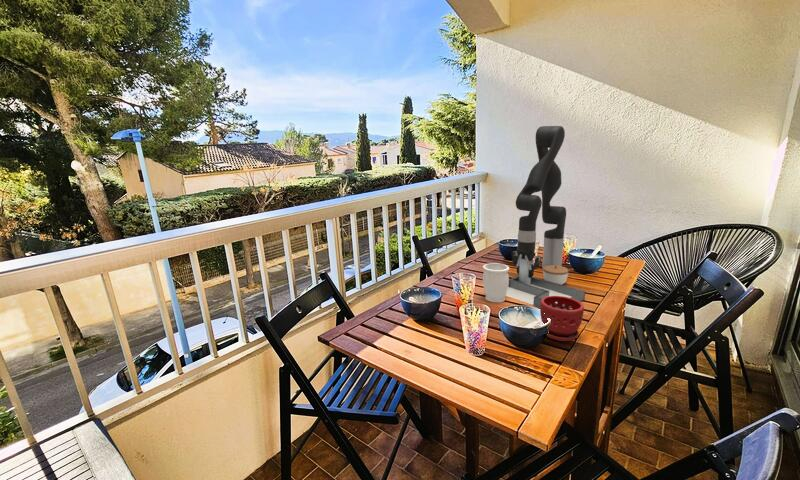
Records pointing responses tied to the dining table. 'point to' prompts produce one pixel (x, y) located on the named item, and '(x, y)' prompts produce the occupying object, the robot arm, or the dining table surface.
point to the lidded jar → (555, 274)
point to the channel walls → (542, 293)
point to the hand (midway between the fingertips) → (524, 275)
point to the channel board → (530, 295)
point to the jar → (495, 281)
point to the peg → (524, 272)
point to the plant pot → (562, 317)
